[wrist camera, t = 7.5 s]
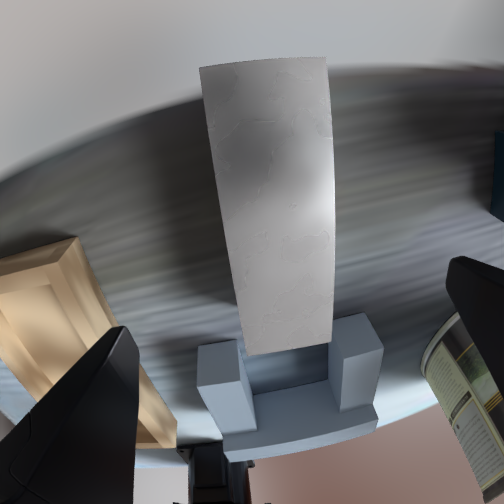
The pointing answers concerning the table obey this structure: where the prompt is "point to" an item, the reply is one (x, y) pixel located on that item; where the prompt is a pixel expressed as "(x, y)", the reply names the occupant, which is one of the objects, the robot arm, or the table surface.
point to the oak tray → (64, 328)
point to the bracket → (294, 397)
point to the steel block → (276, 195)
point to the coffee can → (468, 402)
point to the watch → (498, 178)
